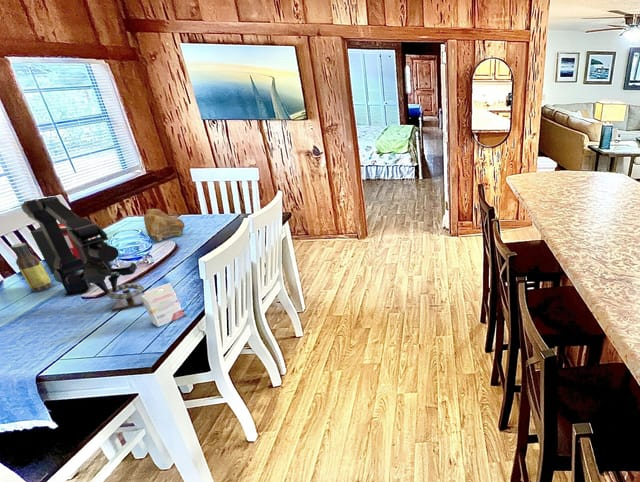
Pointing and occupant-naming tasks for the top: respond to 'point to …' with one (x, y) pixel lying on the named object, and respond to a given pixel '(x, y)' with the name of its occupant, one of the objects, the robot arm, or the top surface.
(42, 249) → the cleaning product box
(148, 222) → the rough brown rock
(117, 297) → the grey-brown segmented ring
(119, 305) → the tape stand
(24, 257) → the sauce bottle
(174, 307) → the ink cartridge box
